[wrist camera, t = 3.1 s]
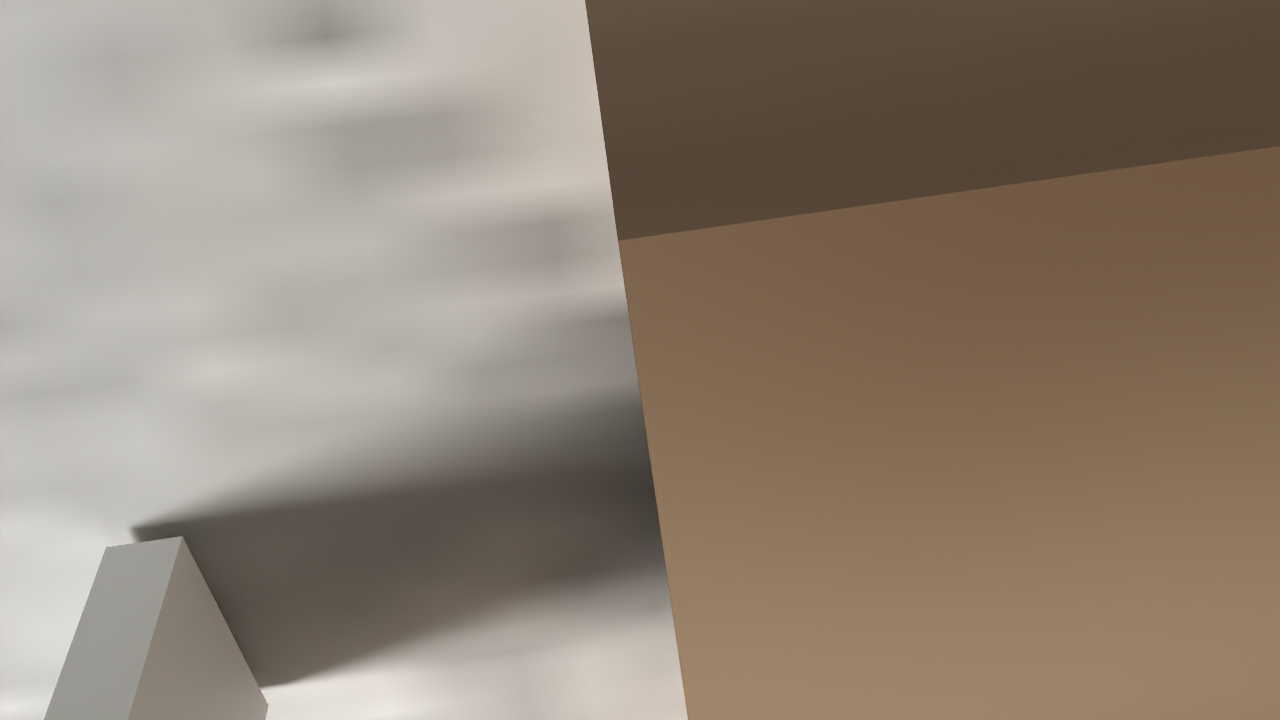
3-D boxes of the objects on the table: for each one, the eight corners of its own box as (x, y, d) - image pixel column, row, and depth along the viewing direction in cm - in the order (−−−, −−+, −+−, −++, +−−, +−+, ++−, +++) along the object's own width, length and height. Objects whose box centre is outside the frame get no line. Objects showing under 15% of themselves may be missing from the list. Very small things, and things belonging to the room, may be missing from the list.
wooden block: (559, -184, 8) (616, 239, 4) (1059, -256, 8) (1639, 94, 4) (711, 865, 17) (781, 1356, 13) (957, 830, 17) (1110, 1309, 13)
